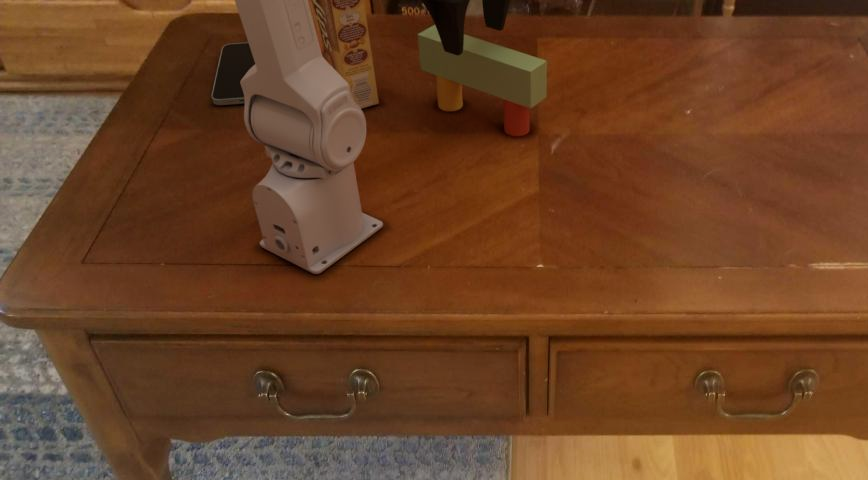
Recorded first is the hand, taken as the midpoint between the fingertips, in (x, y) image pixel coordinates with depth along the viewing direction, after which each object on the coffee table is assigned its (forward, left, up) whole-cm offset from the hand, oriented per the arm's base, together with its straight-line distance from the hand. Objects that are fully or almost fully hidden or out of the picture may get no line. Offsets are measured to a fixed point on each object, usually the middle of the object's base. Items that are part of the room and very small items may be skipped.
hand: (474, 39), depth 95 cm
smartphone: (-8, +31, -10) cm, 33 cm away
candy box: (-4, +17, -10) cm, 20 cm away
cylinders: (+1, 0, -10) cm, 10 cm away
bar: (+1, 0, -6) cm, 6 cm away
